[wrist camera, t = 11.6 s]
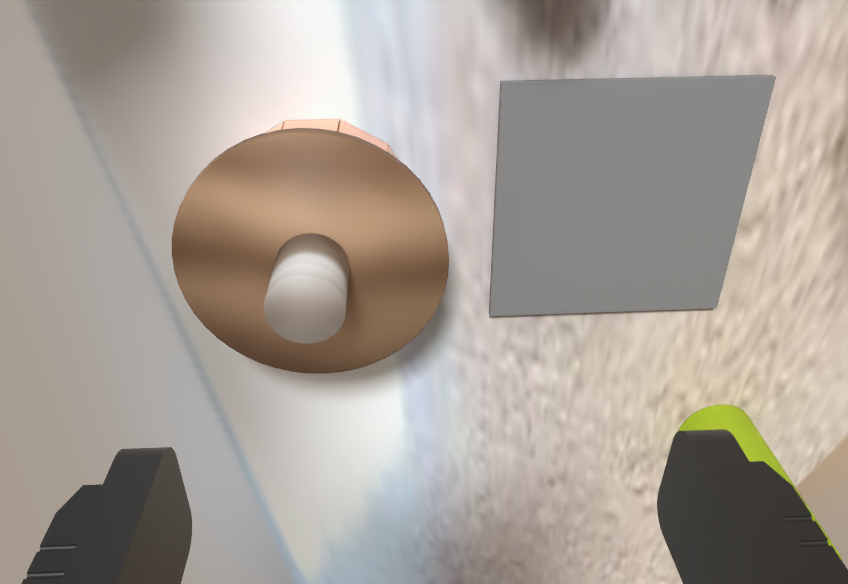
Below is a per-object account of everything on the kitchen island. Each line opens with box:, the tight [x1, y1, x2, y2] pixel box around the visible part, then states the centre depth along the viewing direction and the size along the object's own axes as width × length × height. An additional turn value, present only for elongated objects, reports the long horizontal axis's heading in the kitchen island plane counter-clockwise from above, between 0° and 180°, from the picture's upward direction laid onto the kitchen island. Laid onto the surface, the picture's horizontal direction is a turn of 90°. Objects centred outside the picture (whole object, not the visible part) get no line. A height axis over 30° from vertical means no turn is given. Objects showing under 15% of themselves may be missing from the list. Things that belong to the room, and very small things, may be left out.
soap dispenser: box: [679, 405, 842, 560], centre depth 47 cm, size 6×7×20 cm
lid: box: [172, 128, 449, 373], centre depth 36 cm, size 15×15×5 cm
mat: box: [489, 75, 776, 316], centre depth 44 cm, size 16×16×1 cm
